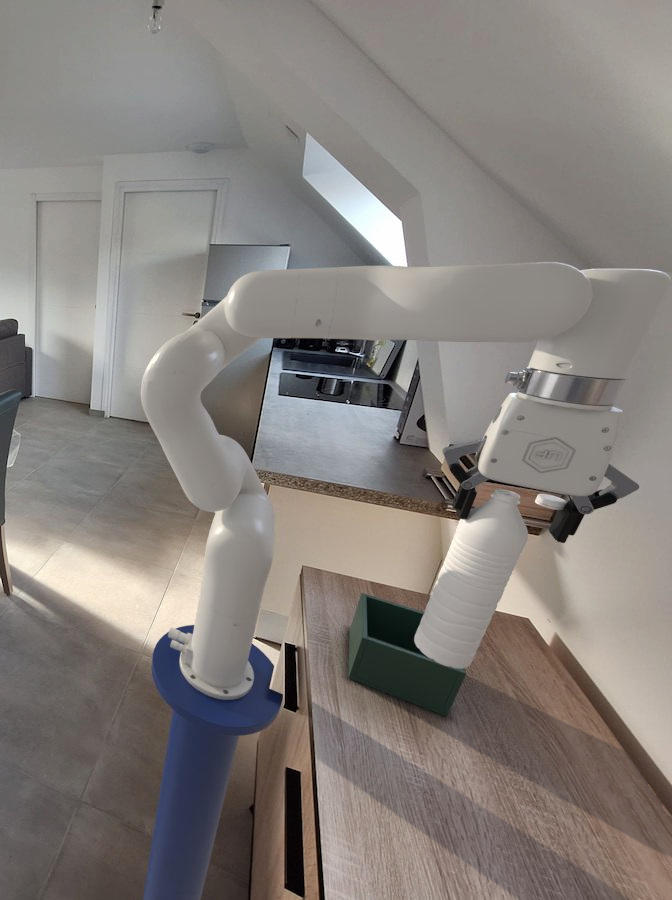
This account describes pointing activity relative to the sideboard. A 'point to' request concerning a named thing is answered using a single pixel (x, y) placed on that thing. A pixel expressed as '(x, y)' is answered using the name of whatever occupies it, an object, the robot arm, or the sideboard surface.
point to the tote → (398, 656)
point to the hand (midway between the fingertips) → (506, 525)
